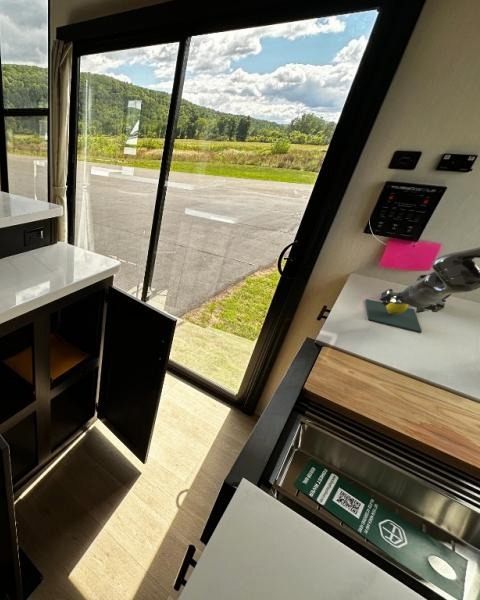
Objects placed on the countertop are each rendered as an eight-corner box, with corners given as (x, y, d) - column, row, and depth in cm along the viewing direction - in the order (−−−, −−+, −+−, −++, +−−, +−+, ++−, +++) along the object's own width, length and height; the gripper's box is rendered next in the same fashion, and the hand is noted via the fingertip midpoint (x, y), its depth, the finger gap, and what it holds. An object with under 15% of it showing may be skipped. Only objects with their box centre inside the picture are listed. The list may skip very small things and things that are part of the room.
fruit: (400, 320, 112) (412, 301, 107) (380, 314, 115) (391, 295, 111) (402, 313, 115) (414, 295, 111) (382, 308, 118) (393, 289, 114)
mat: (413, 310, 117) (414, 309, 117) (421, 332, 106) (422, 331, 106) (365, 300, 124) (366, 298, 124) (368, 320, 113) (368, 318, 113)
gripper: (391, 297, 98) (371, 310, 112) (455, 310, 91) (426, 322, 105) (397, 275, 99) (377, 291, 113) (462, 286, 92) (432, 302, 106)
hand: (401, 306), depth 109 cm, fingers open, 8 cm apart
